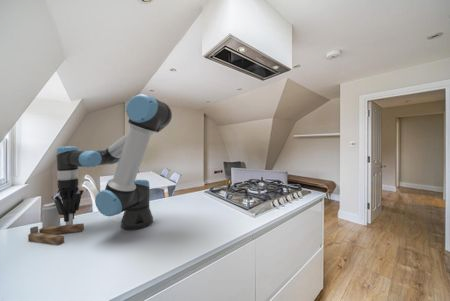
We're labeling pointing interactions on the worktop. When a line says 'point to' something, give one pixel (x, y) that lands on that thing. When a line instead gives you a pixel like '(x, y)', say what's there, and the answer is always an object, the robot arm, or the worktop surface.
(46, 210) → the beverage can
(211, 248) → the worktop surface
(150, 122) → the robot arm
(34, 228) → the bar
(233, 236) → the worktop surface
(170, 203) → the worktop surface
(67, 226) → the bar
